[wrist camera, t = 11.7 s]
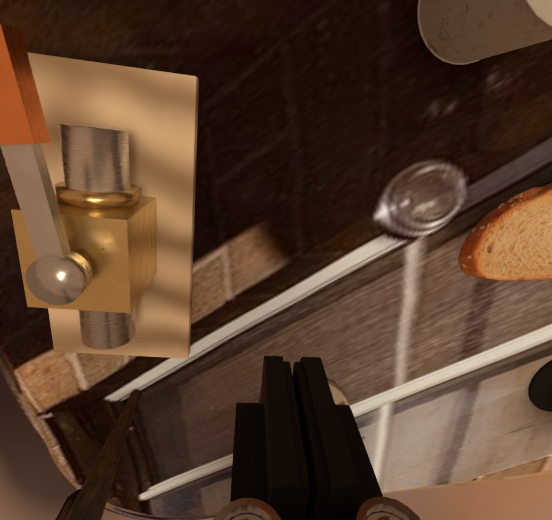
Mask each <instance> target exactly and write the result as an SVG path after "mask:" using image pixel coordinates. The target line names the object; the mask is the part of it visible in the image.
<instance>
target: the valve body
mask: <svg viewBox="0 0 552 520" xmlns="http://www.w3.org/2000/svg"><path fill="white" fill-rule="evenodd" d="M58 125H59V134H60V143H61V153H62V162H63V171H64V181H62V182H59V183H56V184H55V191H56V194H55V196H56V200H57V203H58V207H59V211H60V214H61V218H62V222H63V225H64V229H65V232H66V236H67V240H68V243H69V247H70V250H71V251H74V252H76V253H78V254H80V255H81V256H82V257H84V258H85V259H86V261H87V262H88V263H89V265H90V267H91V270H92V281H91V283H90V285H89V286H88V288H87V289H86V290H85V291H84V292H83V293H82V294H81V295H80V296H79V297H78V298H77V299H76V300H74V301H73V302H71V303H69V304H66V305H51V304H48V303H45V302H43V301H41V300H39V299H38V298H37V297H35V296H34V295H33V294H32V293H31V291H30V290H29V288H28V286H27V284H26V279H25V275H26V271H27V269H28V267H29V266H30V265H31V264H32V263H33V262H35V261H36V260H37V259H36V256H35V253H34V250H33V246H32V243H31V240H30V237H29V234H28V231H27V228H26V224H25V221H24V218H23V215H22V212H21V209H20V206H19V207H16V208H13V209H11V212H12V218H13V224H14V230H15V235H16V241H17V247H18V253H19V259H20V265H21V271H22V277H23V283H24V289H25V295H26V301H27V306H28V307H39V308H55V309H70V310H78V311H79V321H80V330H81V339H82V343H83V344H84V345H85V346H87V347H89V348H92V349H97V350H107V349H113V348H117V347H120V346H123V345H125V344H127V343H128V342H130V341H131V340H132V339H133V338H134V336H135V334H136V324H135V306H136V304H137V303H138V301H139V300H140V298H141V296H142V295H143V293H144V292H145V290H146V289H147V287H148V285H149V284H150V282H151V281H152V279H153V278H154V276H155V274H156V273H157V221H156V197H147V196H139V187H138V186H136V185H134V184H130V164H129V137H128V130H125V129H119V128H112V127H104V126H95V125H85V124H73V123H58Z"/></svg>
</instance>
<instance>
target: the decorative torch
mask: <svg viewBox="0 0 552 520" xmlns="http://www.w3.org/2000/svg"><path fill="white" fill-rule="evenodd" d="M139 398H140V392H139V391H137V390H135V391H133V392H132V393H131V394H130V396H129V399H128V401H127V403H126V405H125V407H124V408H123V410H122V412H121V414H120V416H119V418H118V420H117V422H116V424H115V425H114V427H113V429H112V431H111V433H110V435H109V437H108V439H107V441H106V443H105V444H104V446H103V448H102V450H101V452H100V454H99V456H98V458H97V460H96V462H95V463H94V465H93V467H92V469H91V471H90V473H89V475H88V477H87V479H86V481H85V482H84V484H83V486H82V488H81V489H79V490H77V491H76V492H74V493H73V494H71V495H70V496H69V497H68V498H67V499H66V501H65V503H64V505H63V507H62V509H61V511H60V512H59V514H58V516H57V518H56V520H101V518H102V515H103V511H104V508H105V505H106V502H107V499H108V496H109V492H110V489H111V486H112V483H113V480H114V476H115V473H116V470H117V467H118V464H119V461H120V457H121V454H122V451H123V448H124V445H125V442H126V438H127V435H128V432H129V429H130V426H131V423H132V419H133V416H134V413H135V410H136V407H137V404H138V401H139Z"/></svg>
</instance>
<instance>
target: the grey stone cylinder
mask: <svg viewBox="0 0 552 520" xmlns="http://www.w3.org/2000/svg"><path fill="white" fill-rule="evenodd" d="M417 16H418V26H419V30H420V34H421V37H422V39H423V41H424V43H425V45H426V47H427V48H428V49H429V50H430V51H431V53H432V54H433V55H434V56H436V57H437V58H439V59H440V60H442V61H444V62H447V63H450V64H458V65H464V64H469V63H473V62H476V61H478V60H481V59H484V58H487V57H491V56H494V55H498V54H501V53H505V52H508V51H512V50H515V49H519V48H522V47H526V46H529V45H533V44H536V43H540V42H543V41H547V40H550V39H552V0H418V7H417Z"/></svg>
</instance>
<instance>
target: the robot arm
mask: <svg viewBox="0 0 552 520" xmlns="http://www.w3.org/2000/svg"><path fill="white" fill-rule="evenodd" d="M214 520H420V518H419V517H418V515H416V514H415V513H414V512H413V511H412V510H411V509H410V508H409V507H407V506H406V505H404V504H403V503H401V502H399V501H397V500H395V499H391V498H388V497H383V496H382V493H381V490H380V487H379V484H378V482H377V479H376V476H375V473H374V471H373V468H372V465H371V462H370V460H369V457H368V454H367V451H366V449H365V446H364V443H363V441H362V438H361V435H360V432H359V430H358V427H357V424H356V421H355V419H354V416H353V413H352V411H351V408H350V407H349V404H348V401H347V398H346V396H345V394H344V392H343V391H342V390H341V389H340V388H339V386H337V385H336V384H335V383H333V382H332V381H329V380H327V377H326V373H325V370H324V367H323V364H322V361H321V358H318V357H302V358H301V361H300V362H294V368H293V377H292V373H291V367H290V362H283V357H281V356H264V362H263V375H262V388H261V400H260V403H237V404H236V419H235V435H234V451H233V467H232V483H231V498H230V503H229V504H227V505H226V506H225V507H223V508H222V509H221V510H220V511H219V513H218V514H217V515H216V517H215V518H214Z"/></svg>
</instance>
